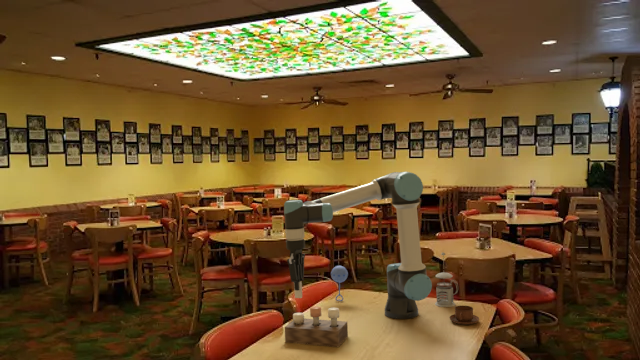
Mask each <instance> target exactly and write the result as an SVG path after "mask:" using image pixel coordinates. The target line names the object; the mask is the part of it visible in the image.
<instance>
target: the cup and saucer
mask: <svg viewBox="0 0 640 360" xmlns="http://www.w3.org/2000/svg"><path fill="white" fill-rule="evenodd" d="M454 312H455V314H451V315H449V320H450V321H452V322H453V323H455V324H458V325H474V324H477V323H478V322H479V320H480V318H479V316H477V315H475V314H474V308H473V307H472V306H469V305H455V306H454Z"/></svg>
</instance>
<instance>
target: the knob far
mask: <svg viewBox="0 0 640 360" xmlns="http://www.w3.org/2000/svg"><path fill="white" fill-rule="evenodd" d="M304 318H305V313H303V312H294V313H293V314H292V321H293V322H294V323H296V324H302V323H303V322H304Z"/></svg>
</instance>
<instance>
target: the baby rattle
mask: <svg viewBox="0 0 640 360" xmlns="http://www.w3.org/2000/svg"><path fill="white" fill-rule="evenodd" d="M330 276H331V279H332V280H333V281H334V282H335V283H338V294H337V295H336V296H335V298H334V299H335V301H337V302H342V301H344V296H343V295H341V283H344V282H345V281H346V280H347V278H348V276H349V272H348V270H347V268H346V267H345V266H342V265H335V266H334V267H333V268H332V269H331V271H330ZM338 297H341V298H340V299H337V298H338Z"/></svg>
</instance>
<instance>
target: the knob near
mask: <svg viewBox="0 0 640 360" xmlns="http://www.w3.org/2000/svg"><path fill="white" fill-rule="evenodd" d="M327 317H328V319H330V320H331V327H337V321H338V319H339V318H340V308H339V307H330V308H329V307H328V309H327Z"/></svg>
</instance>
